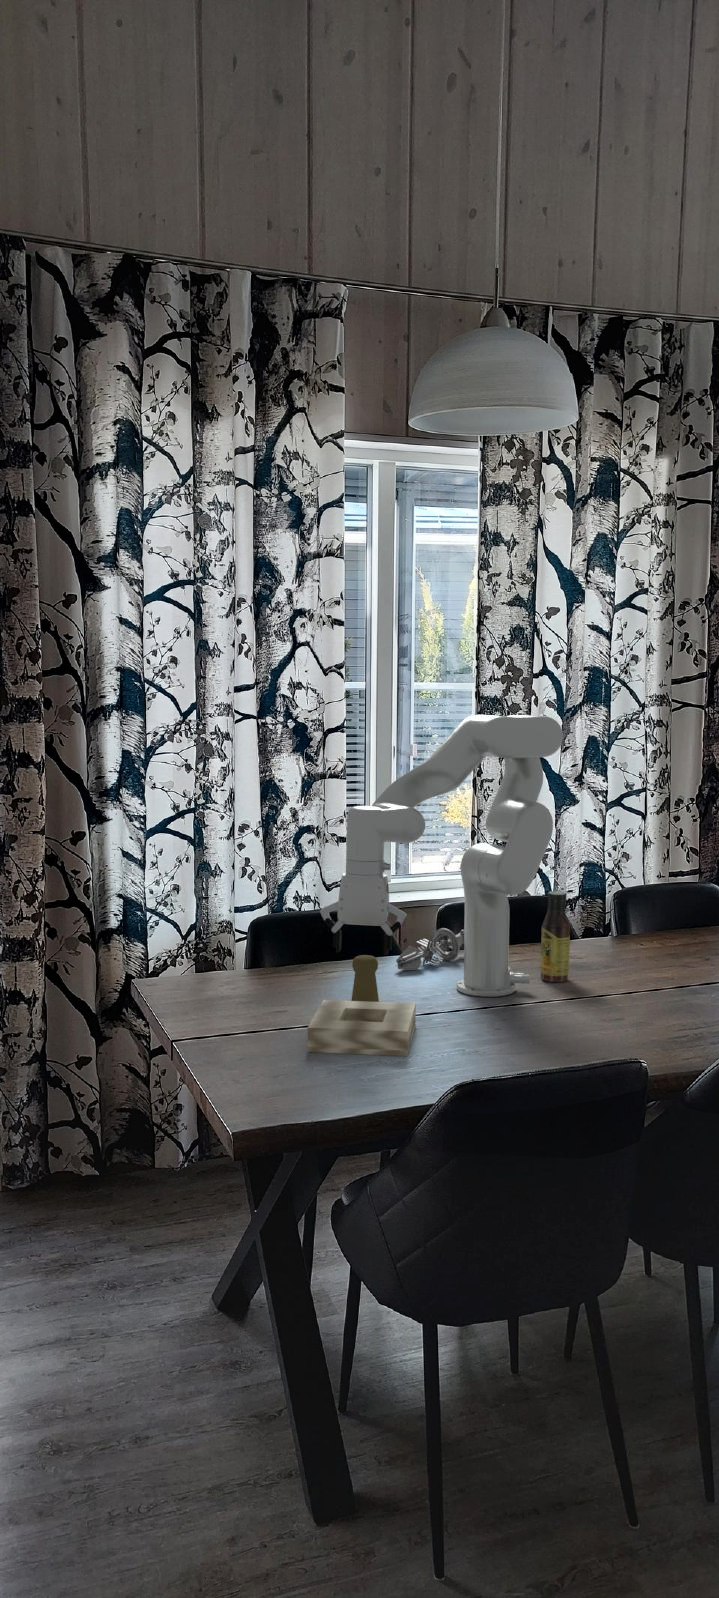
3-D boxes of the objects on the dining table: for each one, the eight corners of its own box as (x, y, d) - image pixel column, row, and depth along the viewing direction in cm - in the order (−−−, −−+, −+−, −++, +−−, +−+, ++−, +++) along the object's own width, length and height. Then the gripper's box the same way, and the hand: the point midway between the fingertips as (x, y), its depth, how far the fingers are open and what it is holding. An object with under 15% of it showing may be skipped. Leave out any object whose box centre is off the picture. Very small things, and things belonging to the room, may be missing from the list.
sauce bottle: (537, 976, 261) (538, 889, 259) (564, 976, 262) (566, 889, 260) (544, 984, 255) (545, 894, 252) (572, 983, 255) (574, 894, 253)
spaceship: (508, 920, 284) (484, 904, 288) (413, 959, 259) (388, 941, 264) (500, 946, 287) (476, 930, 292) (405, 988, 263) (381, 969, 267)
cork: (381, 1005, 238) (381, 952, 237) (378, 1014, 232) (378, 960, 231) (351, 1004, 239) (351, 952, 237) (348, 1013, 233) (348, 959, 231)
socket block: (415, 1026, 224) (415, 1003, 224) (407, 1056, 206) (407, 1031, 206) (323, 1022, 226) (323, 999, 226) (307, 1052, 209) (307, 1027, 208)
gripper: (409, 867, 235) (406, 950, 236) (324, 863, 237) (322, 946, 238) (406, 873, 227) (403, 959, 229) (318, 868, 230) (316, 954, 231)
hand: (362, 952), depth 234 cm, fingers open, 9 cm apart
